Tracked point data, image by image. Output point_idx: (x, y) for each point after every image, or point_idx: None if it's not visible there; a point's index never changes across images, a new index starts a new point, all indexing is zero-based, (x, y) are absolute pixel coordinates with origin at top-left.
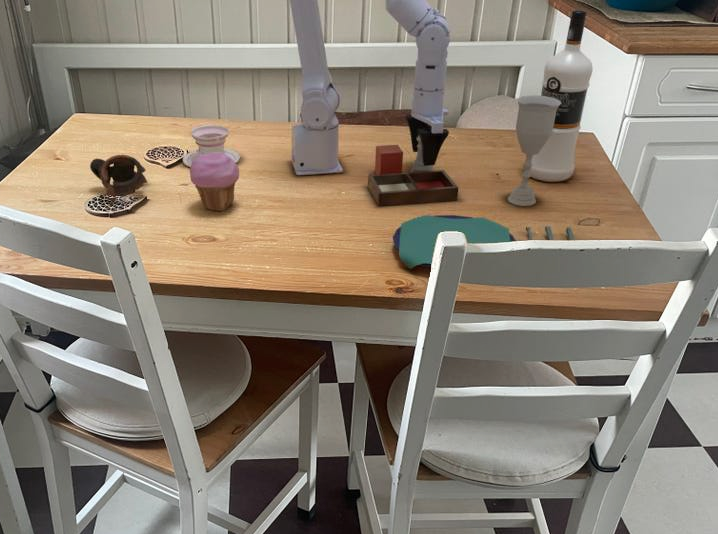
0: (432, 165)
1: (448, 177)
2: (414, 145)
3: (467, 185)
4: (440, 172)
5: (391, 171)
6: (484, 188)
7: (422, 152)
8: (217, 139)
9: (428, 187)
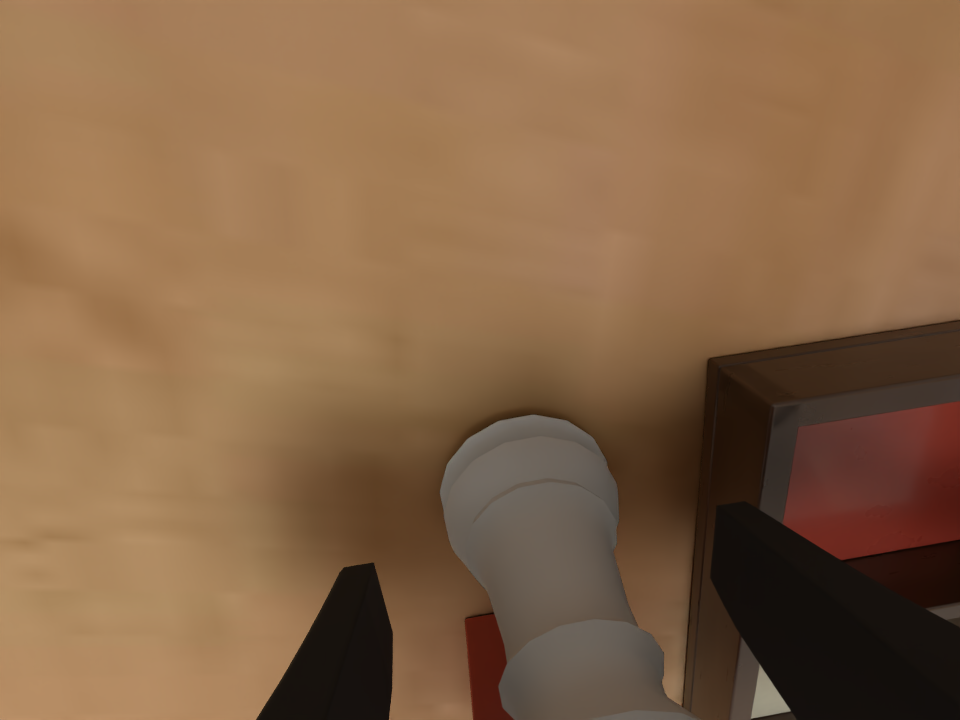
0: (562, 457)
1: (947, 389)
2: (385, 696)
3: (823, 166)
4: (794, 431)
5: None
6: (939, 10)
7: (796, 709)
8: None
9: (833, 478)
